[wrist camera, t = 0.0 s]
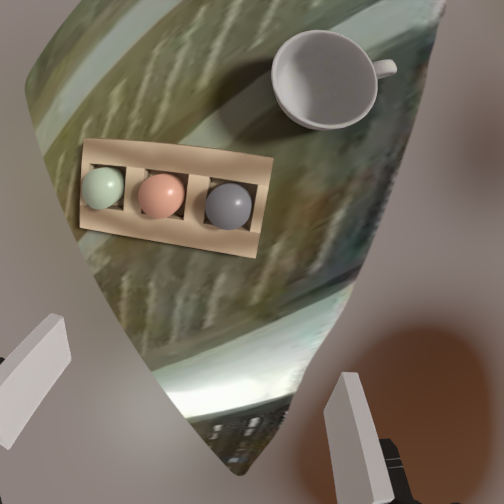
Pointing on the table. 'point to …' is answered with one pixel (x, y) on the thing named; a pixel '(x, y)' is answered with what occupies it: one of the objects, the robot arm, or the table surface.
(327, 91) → the teacup
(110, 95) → the table surface
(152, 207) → the terracotta button
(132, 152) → the button panel
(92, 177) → the sage button
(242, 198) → the charcoal button
